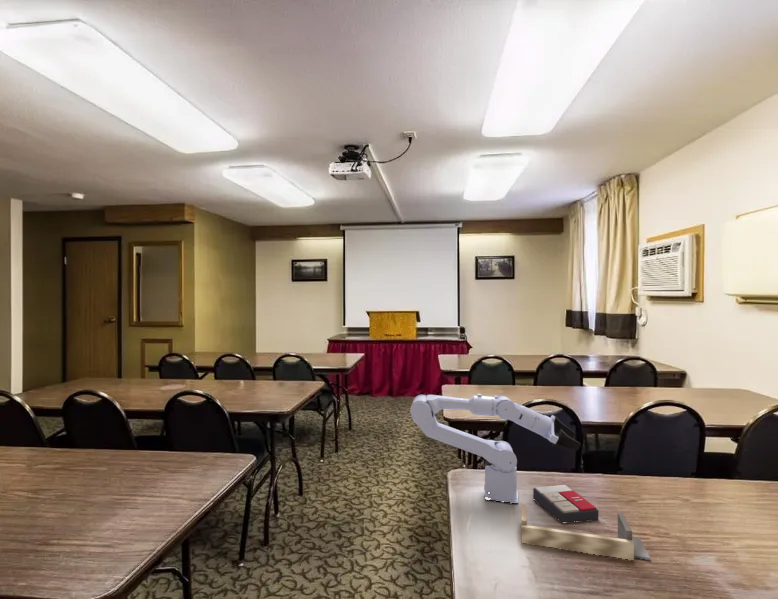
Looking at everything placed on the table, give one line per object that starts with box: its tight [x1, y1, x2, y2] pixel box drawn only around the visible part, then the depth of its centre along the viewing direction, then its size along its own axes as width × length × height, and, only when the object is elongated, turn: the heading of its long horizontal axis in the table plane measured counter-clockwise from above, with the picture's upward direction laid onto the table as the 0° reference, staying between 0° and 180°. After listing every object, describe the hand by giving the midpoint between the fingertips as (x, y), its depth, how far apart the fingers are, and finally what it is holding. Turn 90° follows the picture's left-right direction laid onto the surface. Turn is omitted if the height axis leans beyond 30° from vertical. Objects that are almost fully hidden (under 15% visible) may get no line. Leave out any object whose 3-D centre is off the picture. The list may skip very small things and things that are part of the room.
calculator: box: [532, 484, 599, 523], centre depth 120 cm, size 11×4×15 cm
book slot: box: [520, 503, 651, 561], centre depth 103 cm, size 28×10×6 cm, turn 73°
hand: (576, 441), depth 125 cm, fingers open, 7 cm apart
